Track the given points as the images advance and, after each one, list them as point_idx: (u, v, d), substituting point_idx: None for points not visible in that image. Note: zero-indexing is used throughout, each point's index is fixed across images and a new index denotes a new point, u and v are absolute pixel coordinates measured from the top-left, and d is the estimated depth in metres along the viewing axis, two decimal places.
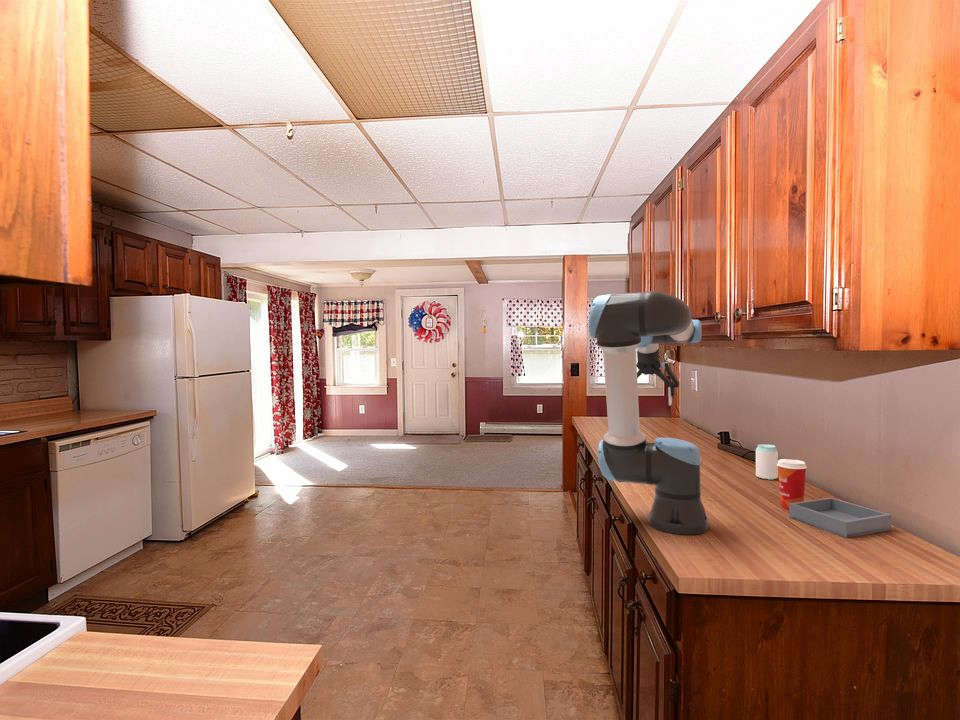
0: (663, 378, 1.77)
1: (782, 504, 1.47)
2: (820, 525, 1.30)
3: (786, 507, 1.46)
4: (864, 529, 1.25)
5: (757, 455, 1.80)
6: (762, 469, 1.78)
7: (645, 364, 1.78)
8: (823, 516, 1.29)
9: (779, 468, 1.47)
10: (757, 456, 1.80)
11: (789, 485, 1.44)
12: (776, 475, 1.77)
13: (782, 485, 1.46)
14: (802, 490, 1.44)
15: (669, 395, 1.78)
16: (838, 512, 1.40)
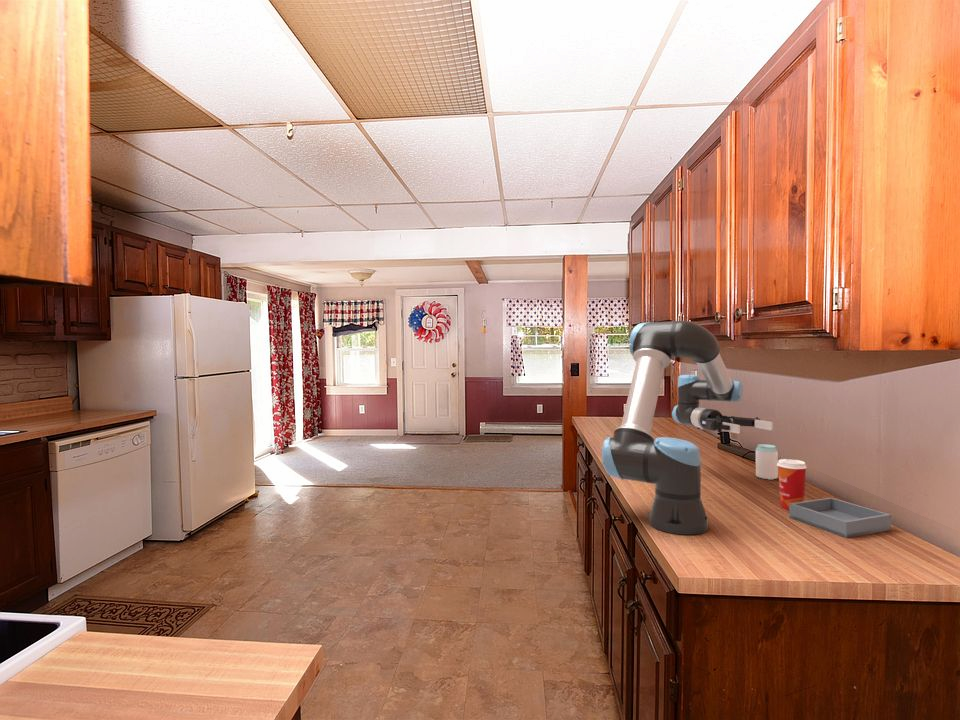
0: (741, 418, 1.70)
1: (782, 504, 1.47)
2: (820, 525, 1.30)
3: (786, 507, 1.46)
4: (864, 529, 1.25)
5: (757, 455, 1.80)
6: (762, 469, 1.78)
7: (715, 418, 1.74)
8: (823, 516, 1.29)
9: (779, 468, 1.47)
10: (757, 456, 1.80)
11: (789, 485, 1.44)
12: (776, 475, 1.77)
13: (782, 485, 1.46)
14: (802, 490, 1.44)
15: (761, 420, 1.64)
16: (838, 512, 1.40)
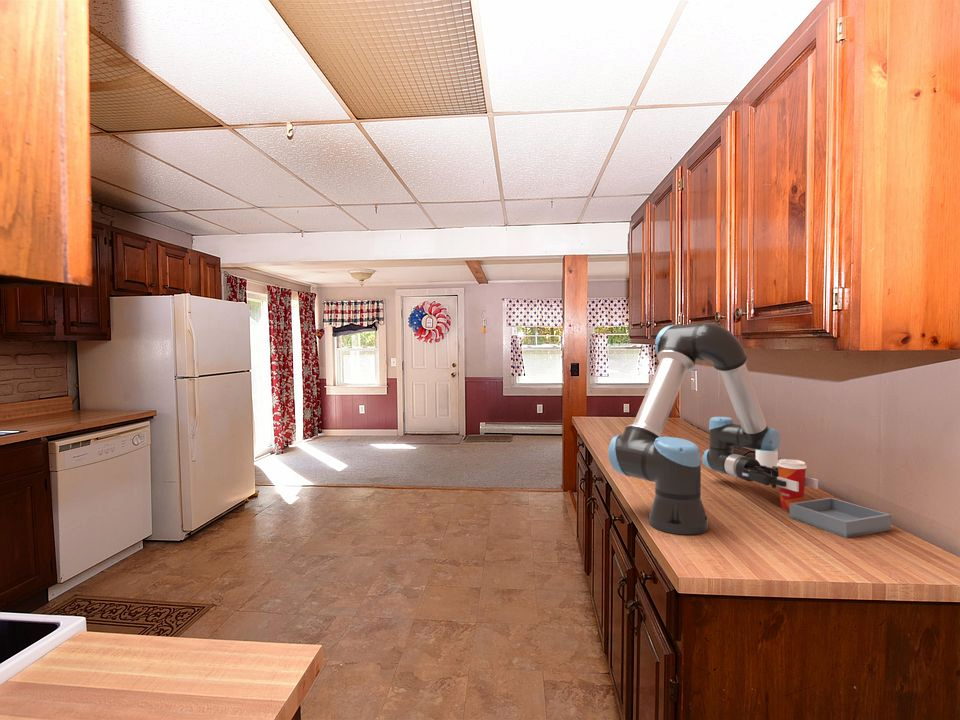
0: None
1: (782, 504, 1.47)
2: (820, 525, 1.30)
3: (786, 507, 1.46)
4: (864, 529, 1.25)
5: (757, 455, 1.80)
6: None
7: (751, 467, 1.59)
8: (823, 516, 1.29)
9: (779, 468, 1.47)
10: (757, 456, 1.80)
11: None
12: None
13: None
14: (802, 490, 1.44)
15: None
16: (838, 512, 1.40)
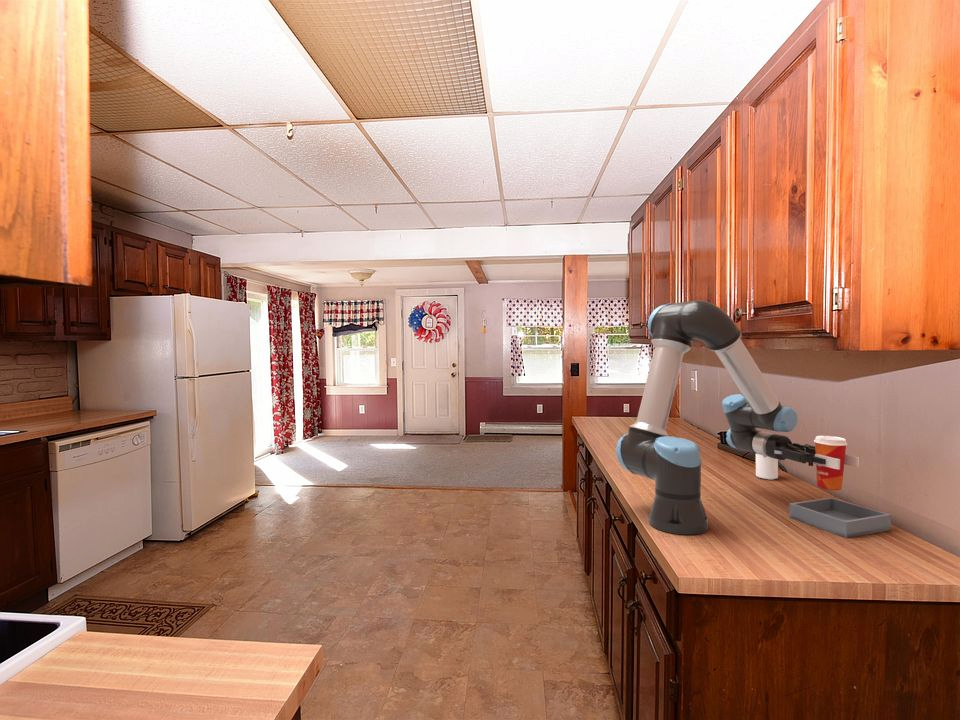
0: None
1: (818, 483, 1.37)
2: (820, 525, 1.30)
3: (824, 487, 1.36)
4: (864, 529, 1.25)
5: (757, 455, 1.80)
6: (762, 469, 1.78)
7: (782, 445, 1.49)
8: (823, 516, 1.29)
9: (817, 445, 1.37)
10: (757, 456, 1.80)
11: None
12: (776, 475, 1.77)
13: None
14: (842, 468, 1.34)
15: None
16: (838, 512, 1.40)
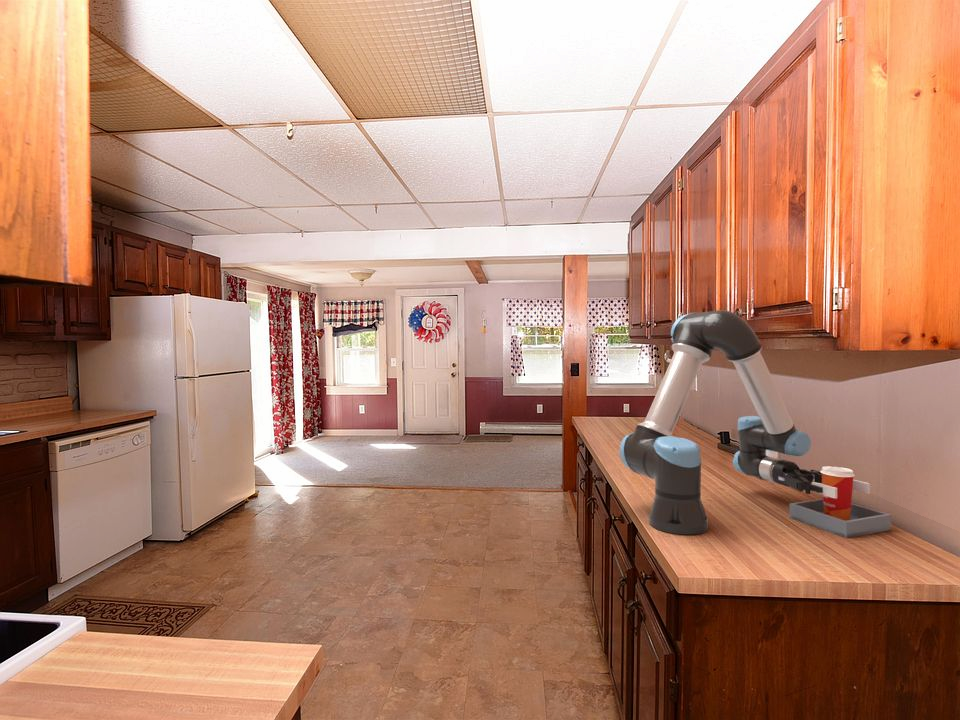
0: None
1: None
2: (820, 525, 1.30)
3: None
4: (864, 529, 1.25)
5: None
6: None
7: (792, 472, 1.45)
8: (823, 516, 1.29)
9: (823, 476, 1.34)
10: None
11: None
12: None
13: None
14: (849, 501, 1.31)
15: None
16: None
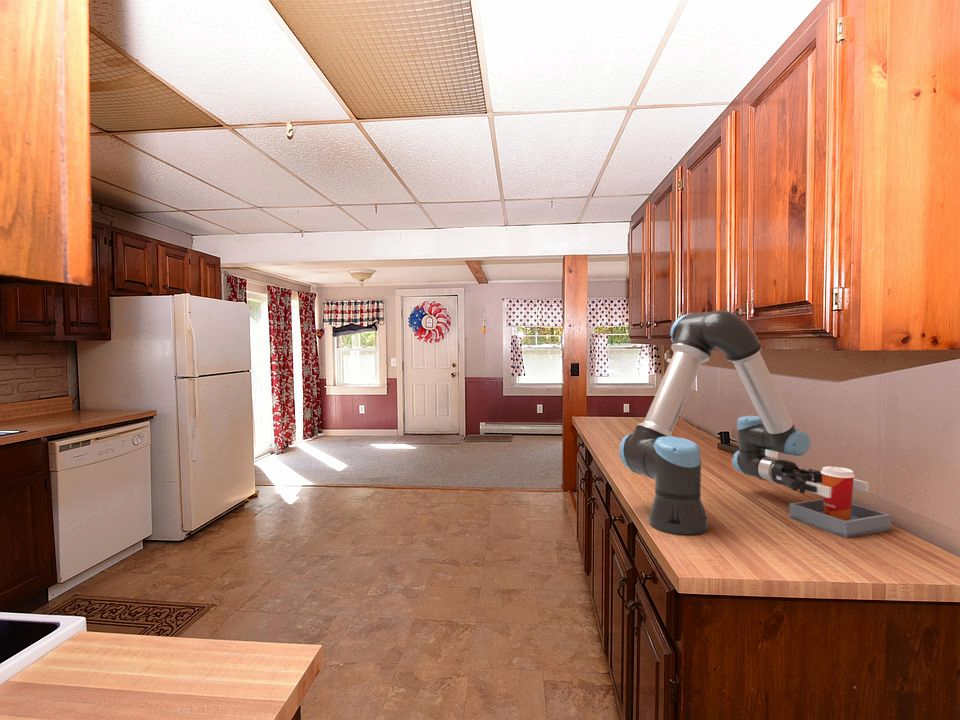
0: None
1: None
2: (820, 525, 1.30)
3: None
4: (864, 529, 1.25)
5: None
6: None
7: (792, 472, 1.46)
8: (823, 516, 1.29)
9: (823, 476, 1.34)
10: None
11: (835, 495, 1.31)
12: None
13: None
14: (849, 501, 1.31)
15: None
16: None
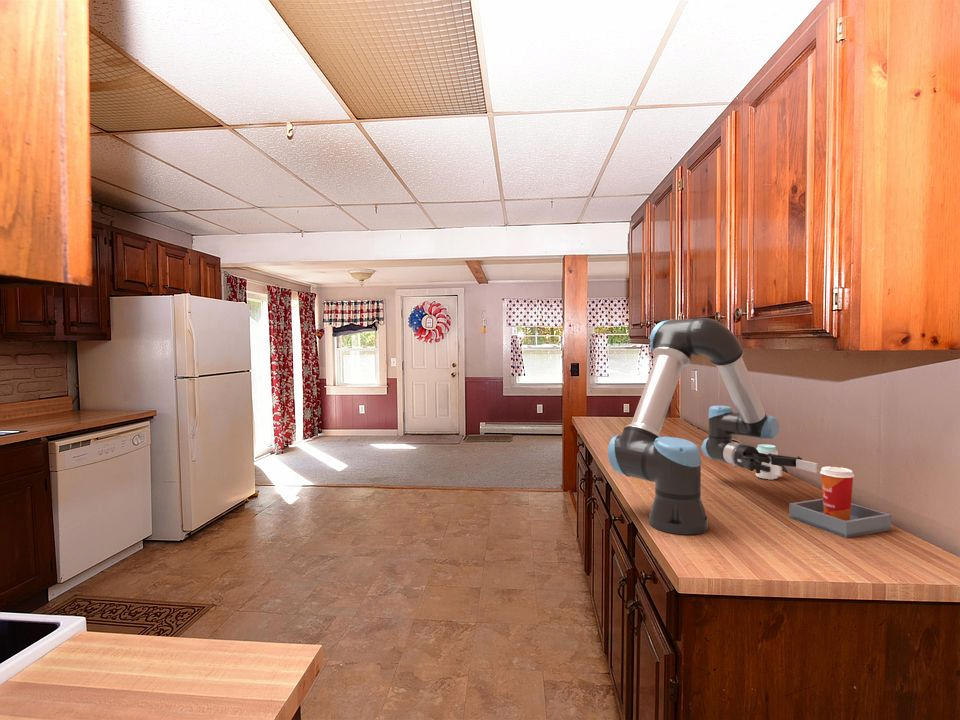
0: (781, 457, 1.56)
1: None
2: (820, 525, 1.30)
3: None
4: (864, 529, 1.25)
5: None
6: None
7: None
8: (823, 516, 1.29)
9: (823, 476, 1.34)
10: None
11: (835, 495, 1.31)
12: None
13: (826, 495, 1.33)
14: (849, 501, 1.31)
15: None
16: None
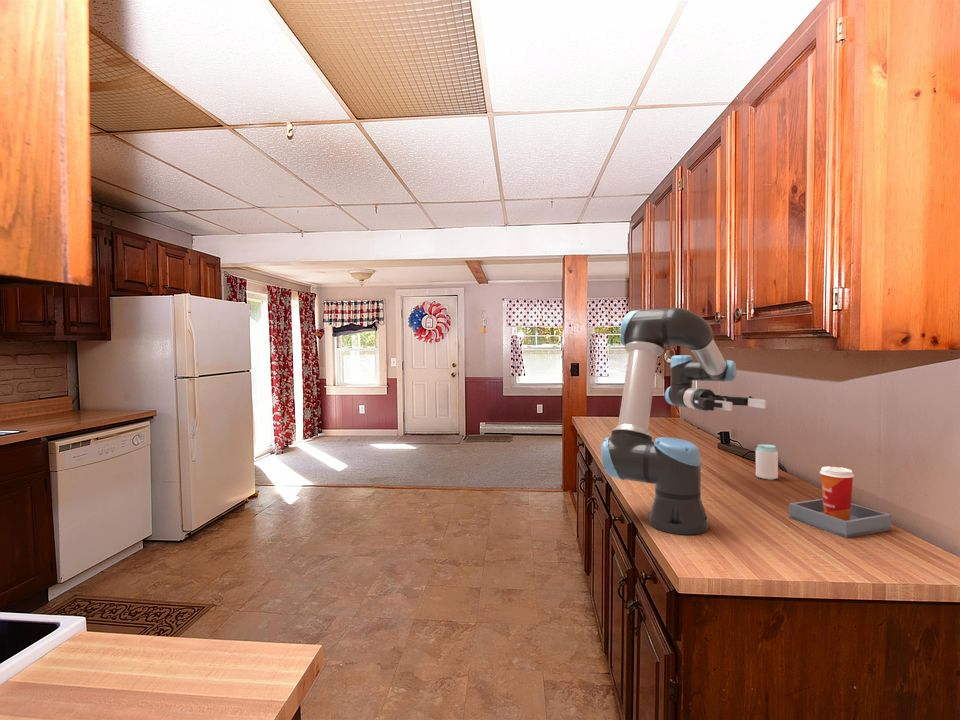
0: (734, 397, 1.67)
1: None
2: (820, 525, 1.30)
3: None
4: (864, 529, 1.25)
5: (757, 455, 1.80)
6: (762, 469, 1.78)
7: (708, 397, 1.70)
8: (823, 516, 1.29)
9: (823, 476, 1.34)
10: (757, 456, 1.80)
11: (835, 495, 1.31)
12: (776, 475, 1.77)
13: (826, 495, 1.33)
14: (849, 501, 1.31)
15: None
16: None
